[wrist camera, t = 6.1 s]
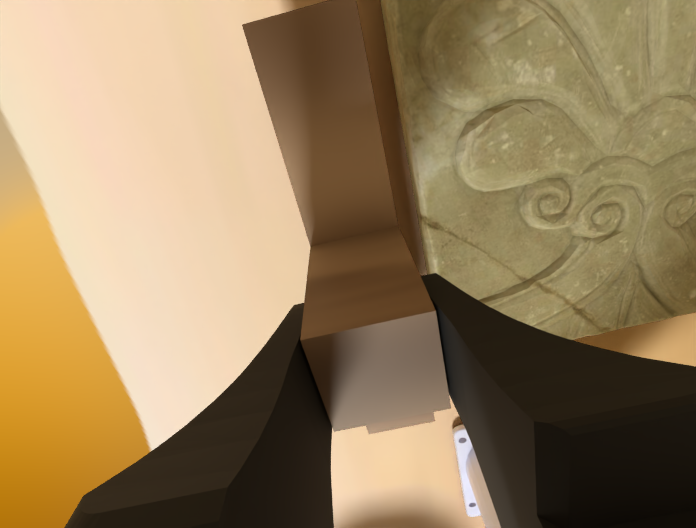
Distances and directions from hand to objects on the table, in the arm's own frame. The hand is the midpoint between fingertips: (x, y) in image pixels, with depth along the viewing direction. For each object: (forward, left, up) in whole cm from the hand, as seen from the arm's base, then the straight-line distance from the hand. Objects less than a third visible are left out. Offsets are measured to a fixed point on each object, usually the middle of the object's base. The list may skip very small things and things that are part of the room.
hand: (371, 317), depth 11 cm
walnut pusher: (0, 0, -5) cm, 5 cm away
